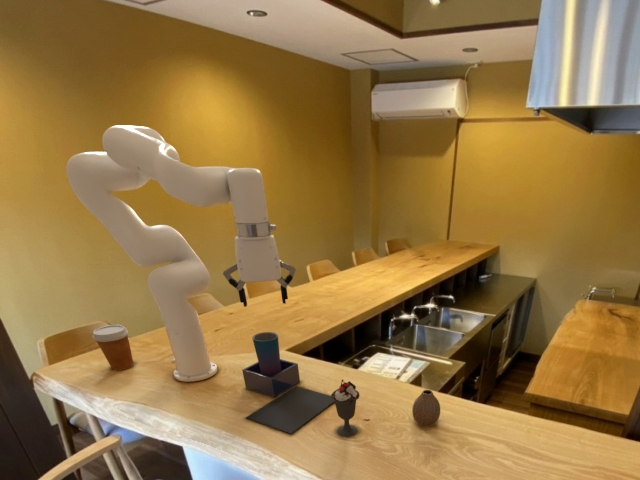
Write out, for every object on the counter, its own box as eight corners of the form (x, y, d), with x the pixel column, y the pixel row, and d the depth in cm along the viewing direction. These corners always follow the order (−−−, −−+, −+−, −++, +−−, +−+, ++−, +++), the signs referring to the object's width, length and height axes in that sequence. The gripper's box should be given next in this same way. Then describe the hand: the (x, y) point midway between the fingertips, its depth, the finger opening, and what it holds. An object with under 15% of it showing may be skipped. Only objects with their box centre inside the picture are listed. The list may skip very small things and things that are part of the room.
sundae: (340, 441, 99) (335, 385, 90) (329, 428, 104) (324, 372, 95) (365, 434, 101) (363, 378, 93) (354, 421, 106) (351, 367, 98)
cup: (279, 391, 120) (271, 341, 111) (257, 389, 121) (247, 340, 112) (288, 381, 125) (281, 332, 117) (267, 379, 126) (259, 331, 118)
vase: (442, 418, 108) (444, 387, 103) (435, 432, 102) (438, 400, 97) (416, 413, 109) (417, 383, 105) (408, 427, 104) (409, 396, 99)
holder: (245, 388, 121) (241, 369, 118) (272, 374, 129) (269, 356, 126) (274, 397, 117) (271, 378, 113) (300, 382, 125) (297, 363, 121)
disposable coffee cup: (120, 374, 129) (106, 337, 123) (98, 369, 132) (83, 332, 126) (146, 362, 137) (133, 326, 130) (124, 358, 140) (111, 322, 133)
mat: (245, 418, 108) (245, 417, 107) (296, 387, 122) (296, 385, 122) (291, 434, 101) (290, 433, 101) (338, 399, 116) (338, 398, 116)
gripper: (289, 226, 103) (297, 297, 112) (215, 229, 99) (230, 302, 109) (292, 231, 97) (300, 305, 106) (213, 234, 93) (229, 310, 103)
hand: (265, 303), depth 107 cm, fingers open, 9 cm apart
